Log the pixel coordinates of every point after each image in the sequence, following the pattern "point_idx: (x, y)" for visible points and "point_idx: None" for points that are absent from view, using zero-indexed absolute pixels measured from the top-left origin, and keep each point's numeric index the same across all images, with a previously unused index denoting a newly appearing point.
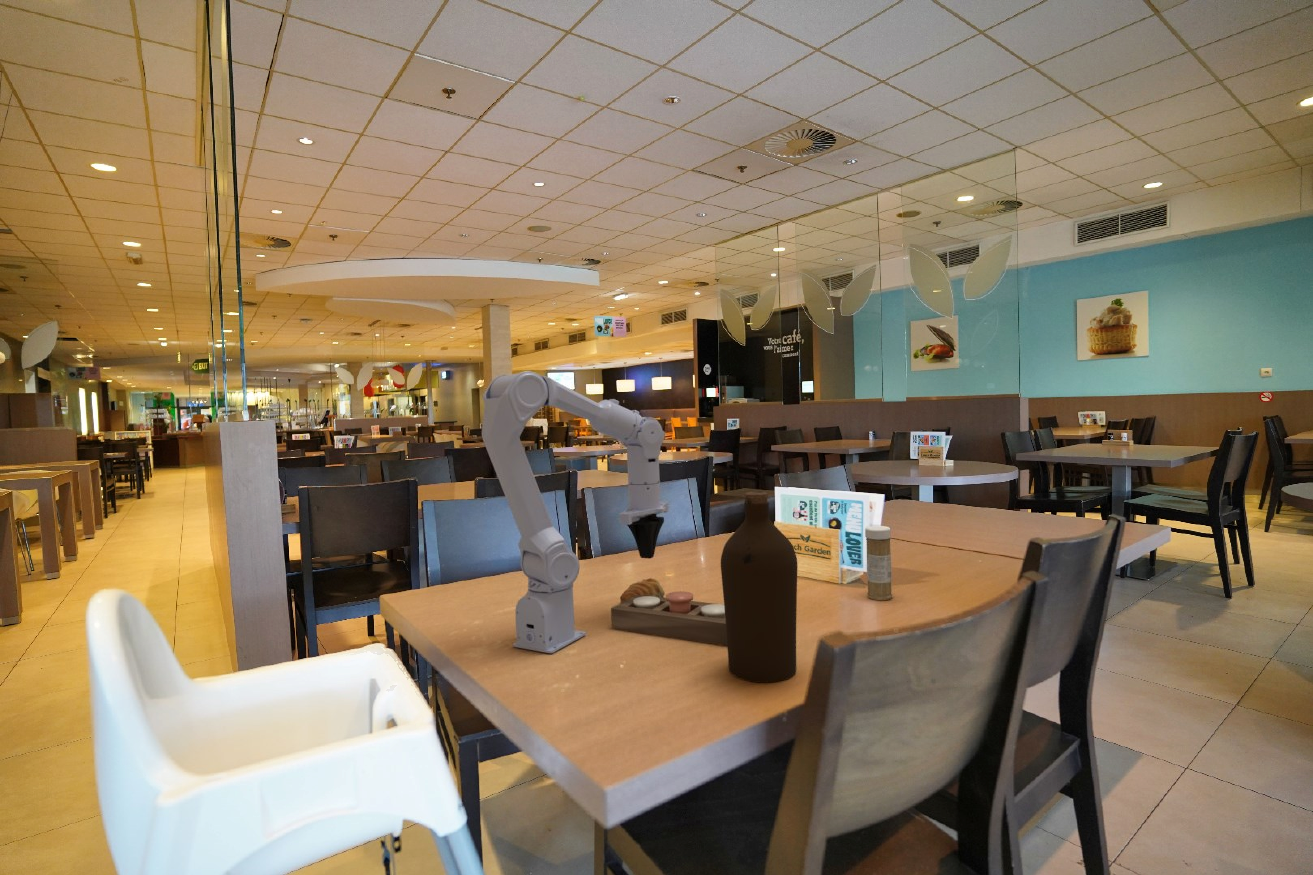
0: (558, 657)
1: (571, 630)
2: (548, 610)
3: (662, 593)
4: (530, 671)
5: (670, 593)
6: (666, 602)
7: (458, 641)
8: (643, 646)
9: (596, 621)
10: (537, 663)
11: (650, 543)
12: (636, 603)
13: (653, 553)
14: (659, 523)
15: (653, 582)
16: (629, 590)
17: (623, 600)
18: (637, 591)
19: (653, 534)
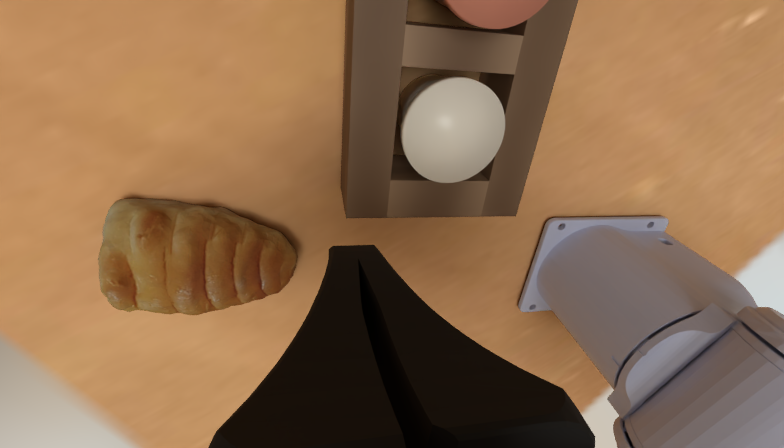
0: (678, 193)
1: (609, 235)
2: (729, 285)
3: (133, 203)
4: (743, 199)
5: (483, 15)
6: (413, 58)
7: (588, 383)
8: (621, 24)
9: (441, 252)
10: (705, 211)
11: (416, 295)
12: (495, 152)
13: (343, 254)
14: (365, 413)
15: (129, 258)
16: (244, 289)
17: (293, 271)
18: (247, 260)
19: (412, 336)
